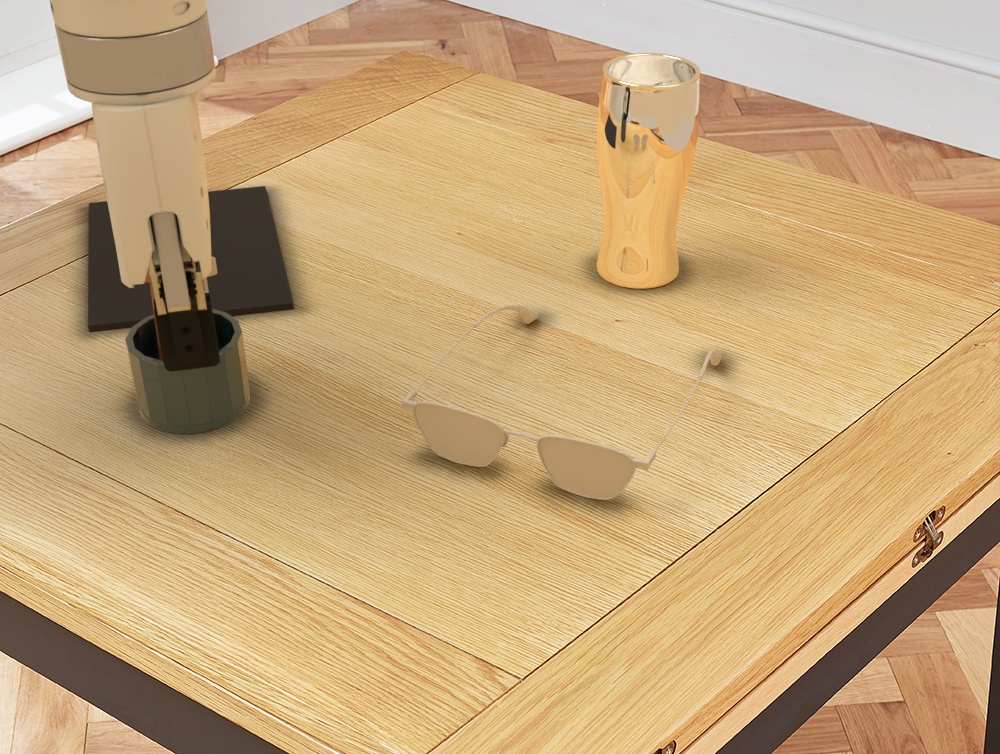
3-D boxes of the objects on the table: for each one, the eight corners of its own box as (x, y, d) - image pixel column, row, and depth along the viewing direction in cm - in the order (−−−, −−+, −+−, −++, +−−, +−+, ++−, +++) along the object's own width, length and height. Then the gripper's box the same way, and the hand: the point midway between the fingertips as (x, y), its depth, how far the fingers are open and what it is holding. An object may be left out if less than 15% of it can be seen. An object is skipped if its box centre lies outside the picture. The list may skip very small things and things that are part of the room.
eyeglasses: (401, 450, 81) (398, 394, 79) (520, 314, 94) (521, 263, 92) (643, 515, 76) (648, 457, 74) (734, 362, 89) (740, 309, 87)
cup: (119, 400, 86) (105, 332, 83) (212, 363, 89) (202, 295, 86) (175, 447, 82) (163, 377, 78) (271, 406, 85) (263, 337, 82)
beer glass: (575, 280, 98) (583, 77, 89) (611, 241, 103) (622, 45, 94) (665, 300, 96) (683, 94, 87) (697, 259, 101) (717, 60, 92)
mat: (293, 309, 95) (293, 302, 95) (89, 332, 92) (87, 325, 92) (266, 191, 110) (265, 185, 110) (89, 208, 108) (88, 202, 108)
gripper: (66, 14, 74) (126, 310, 85) (57, 111, 62) (129, 440, 73) (204, 2, 75) (246, 296, 86) (221, 95, 64) (267, 421, 75)
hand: (192, 361), depth 80 cm, fingers closed
